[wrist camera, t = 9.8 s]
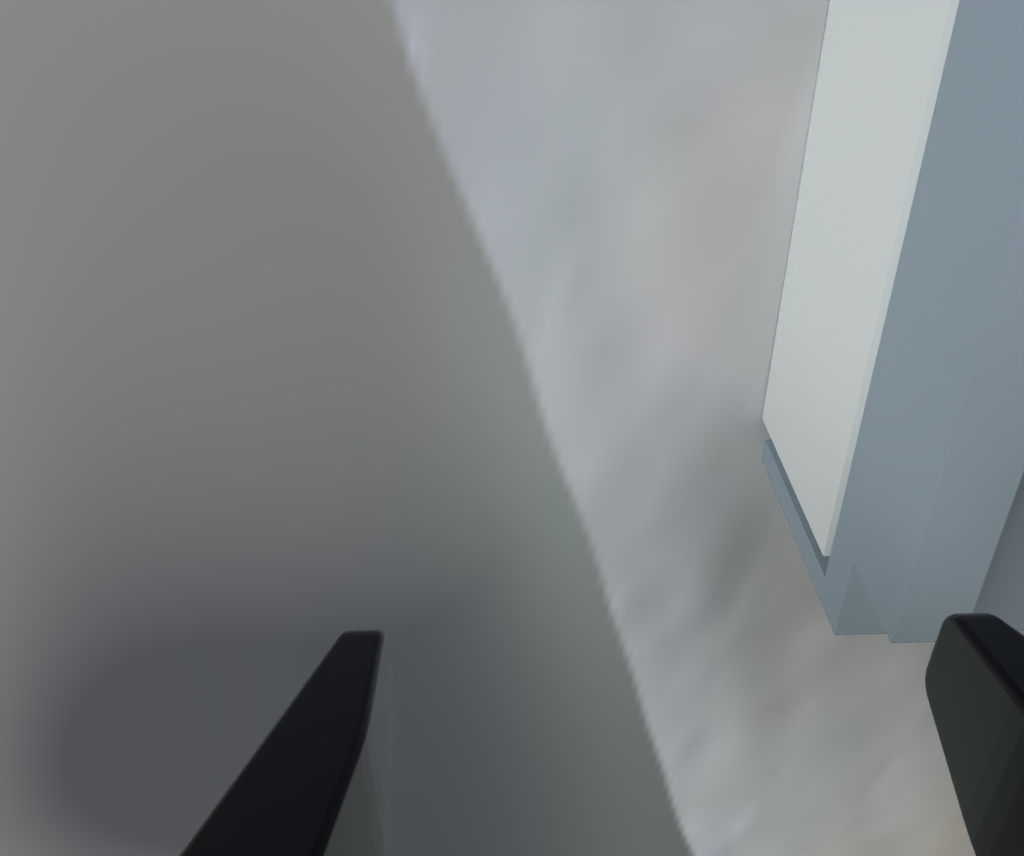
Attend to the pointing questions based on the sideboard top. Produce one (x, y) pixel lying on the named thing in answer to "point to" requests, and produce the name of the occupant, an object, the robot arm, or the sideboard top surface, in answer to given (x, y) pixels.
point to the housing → (850, 235)
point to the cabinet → (943, 374)
